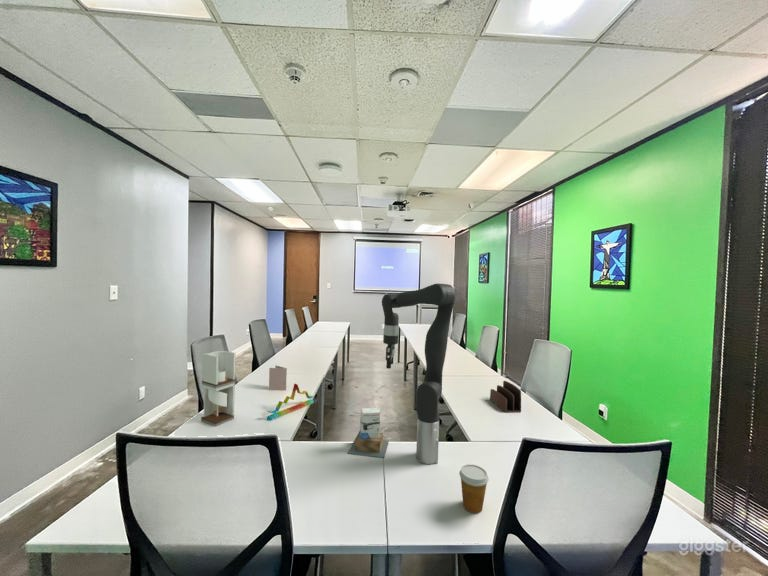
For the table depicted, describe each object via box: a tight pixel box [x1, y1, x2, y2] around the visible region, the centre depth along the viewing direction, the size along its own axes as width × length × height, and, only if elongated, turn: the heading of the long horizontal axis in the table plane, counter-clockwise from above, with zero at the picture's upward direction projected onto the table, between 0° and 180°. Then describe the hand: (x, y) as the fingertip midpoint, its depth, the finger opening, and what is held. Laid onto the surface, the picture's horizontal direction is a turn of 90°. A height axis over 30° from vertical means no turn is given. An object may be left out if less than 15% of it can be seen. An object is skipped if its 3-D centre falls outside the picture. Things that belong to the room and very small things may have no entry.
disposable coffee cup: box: [458, 463, 490, 514], centre depth 105 cm, size 10×10×12 cm
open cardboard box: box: [355, 430, 384, 453], centre depth 141 cm, size 11×8×5 cm
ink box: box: [359, 407, 381, 439], centre depth 140 cm, size 8×5×12 cm, turn 101°
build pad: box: [347, 437, 390, 459], centre depth 141 cm, size 16×14×1 cm
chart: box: [266, 383, 314, 421], centre depth 177 cm, size 30×3×15 cm, turn 146°
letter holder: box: [489, 380, 522, 414], centre depth 195 cm, size 10×20×14 cm, turn 9°
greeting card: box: [268, 364, 288, 391], centre depth 210 cm, size 11×7×15 cm, turn 58°
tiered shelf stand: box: [200, 350, 237, 427], centre depth 162 cm, size 11×11×35 cm
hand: (389, 366), depth 156 cm, fingers open, 8 cm apart
